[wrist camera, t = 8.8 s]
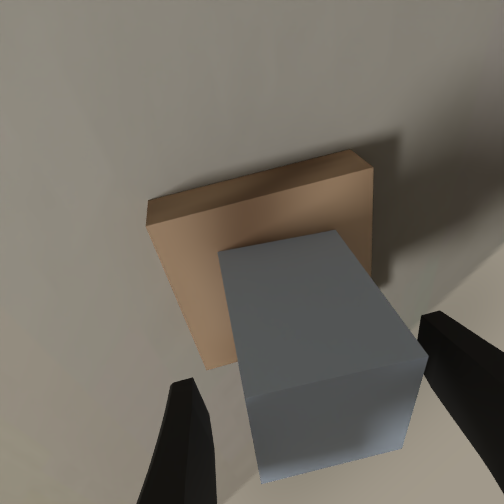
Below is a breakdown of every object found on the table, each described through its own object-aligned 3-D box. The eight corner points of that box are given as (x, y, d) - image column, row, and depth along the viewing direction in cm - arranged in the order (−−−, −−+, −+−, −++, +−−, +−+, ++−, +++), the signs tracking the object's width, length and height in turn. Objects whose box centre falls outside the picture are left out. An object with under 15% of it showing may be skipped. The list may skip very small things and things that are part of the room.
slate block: (335, 229, 13) (428, 356, 9) (331, 314, 16) (401, 448, 11) (217, 252, 13) (244, 398, 8) (233, 335, 16) (261, 483, 11)
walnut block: (344, 144, 14) (373, 167, 12) (348, 290, 19) (370, 323, 17) (148, 194, 14) (145, 226, 12) (202, 330, 19) (206, 370, 17)
